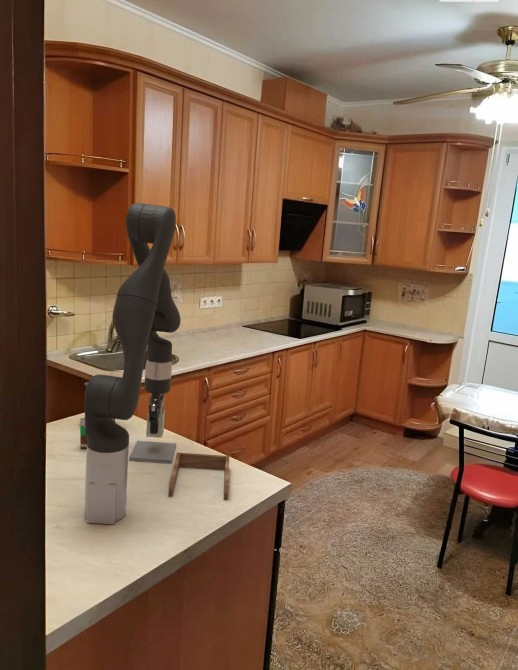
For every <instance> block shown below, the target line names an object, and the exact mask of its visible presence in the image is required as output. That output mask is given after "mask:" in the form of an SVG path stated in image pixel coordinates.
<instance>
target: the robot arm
mask: <svg viewBox="0 0 518 670" xmlns="http://www.w3.org/2000/svg"><path fill="white" fill-rule="evenodd" d="M125 215H126V216H125V228H126V229H125V230H126V234H127V238H128V241H129V244H130V247H131V249H132V252H133V255H134V257H135V261H136V264H137V265H138V268H137V269H136V270H135V271H133V272H132V273H131V274H130V275H129V276H128V277H127V278H126V279H125V281H124V282H123V283H122V284H121V285H120V287H119V289H118V291H117V293H116V299H115V302H114V305H113V311H112V317H111V318H112V323H113V326H114V329H115V330H114V331H115V332H116V335H117V338H118V341H119V343H120V346H121V349H122V353H123V360H124V361H123V374H122V376H114V375H108V374H95V375H93V376H92V377H91V378H90V379H89V380H88V381H87V382H88V384H87V387H85V392H84V400H83V401H84V417H85V435H86V438H87V449H86V459H85V487H84V488H85V491H84V493H85V495H84V517H85V518H86V523H88V524H99V525H100V524H103V525H115V524H116V522H118V521H120V520H121V519H123V518H124V516H125V515H126V512H127V511H126V510H127V509H126V508H127V488H128V471H129V470H128V468H129V452H130V451H129V449H130V434H129V432H128V430H127V429H126V428H124V427H123V426H121V425H120V424H118V423H115V422H116V421H115V422H114V421H113V420H112V419H111V418H114V419H115V420H120V421H128V420H130V419H131V418H133V416H134V415H135V412H136V409H137V407H138V404H139V399H140V392H141V388H142V379H143V371H144V387H143V388H144V391H145V392H146V393H150V397H149V398H148V399H149V400H148V404H149V405H148V412H149V422H150V433H151V434H157V433H158V422H159V414H161V410H164V403H165V394H167V393H169V392H170V391H171V386H172V371H173V370H172V369H173V367H172V365H173V364H172V355H173V343H172V341H170V340H169V339H166V338H163V337H162V336H159V334H158V333H157V332H161V333H169V334H170V333H175V332H176V331H178V329H179V328H180V325H181V315H180V312H179V309H178V307H177V305H176V303H175V301H174V298H173V296H172V288H171V287H172V286H171V281H170V277H169V274H168V273H167V271H166V269H165V266H166V262H167V259H168V255H169V252H170V249H171V246H172V242H173V239H174V236H175V230H176V224H177V223H176V221H177V220H176V219H177V217H176V213H175V211H174V209H173V208H171V207H169V206H165V205H158V204H152V203H151V204H150V203H142V202H134V203H132V204H131V205H130V206H129V207H128V210H127V212H126V214H125ZM149 244H151V245H152V246H151V248H150V246H149ZM145 359H146V363H145ZM144 366H145V367H144ZM144 368H145V369H144ZM158 410H159V411H158ZM152 416H156V418H152Z"/></svg>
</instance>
